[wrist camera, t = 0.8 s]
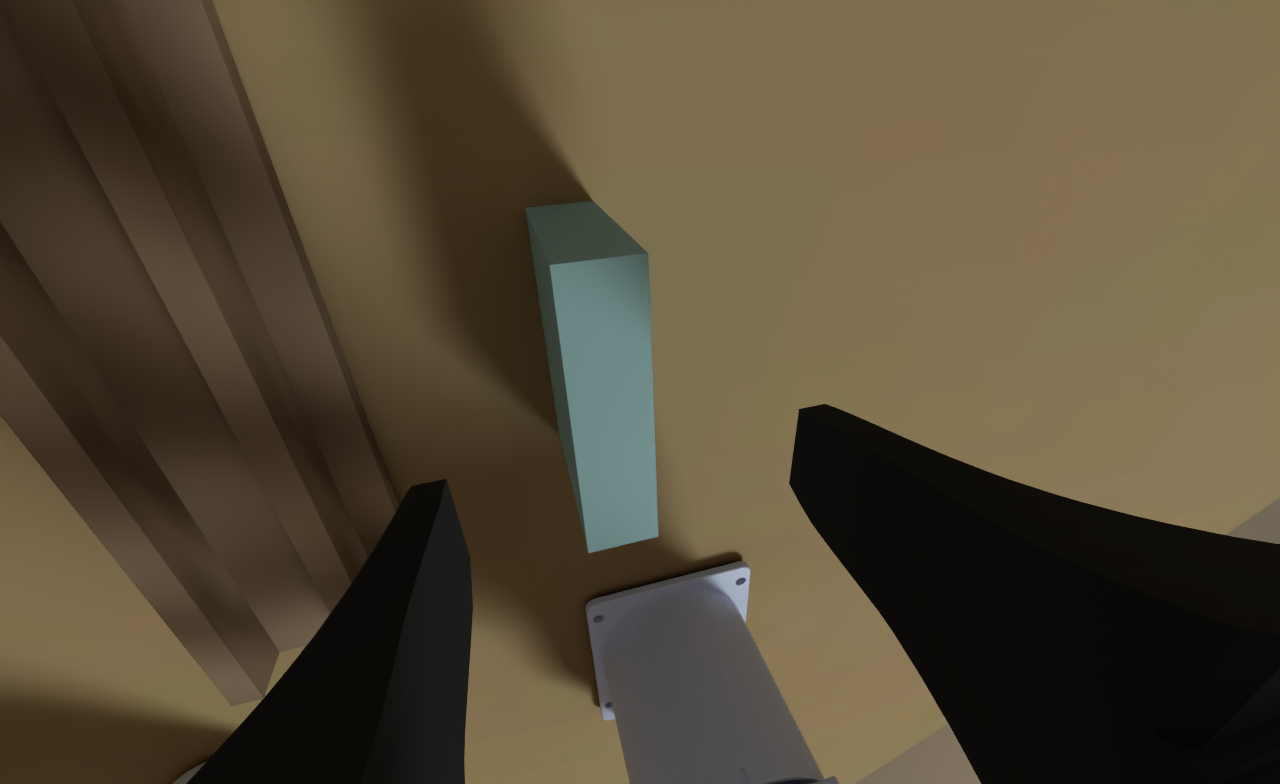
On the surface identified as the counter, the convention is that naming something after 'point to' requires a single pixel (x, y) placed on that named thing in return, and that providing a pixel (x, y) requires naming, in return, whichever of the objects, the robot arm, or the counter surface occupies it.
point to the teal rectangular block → (599, 366)
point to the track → (175, 332)
